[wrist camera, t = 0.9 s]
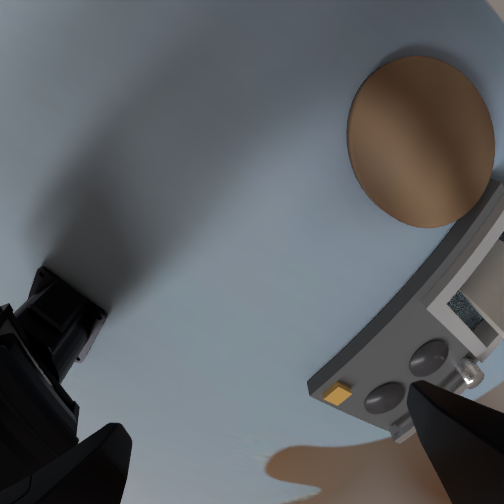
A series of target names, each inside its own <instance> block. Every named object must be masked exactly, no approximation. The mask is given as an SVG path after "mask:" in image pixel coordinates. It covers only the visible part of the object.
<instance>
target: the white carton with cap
mask: <svg viewBox="0 0 504 504" xmlns="http://www.w3.org/2000/svg"><path fill="white" fill-rule="evenodd" d="M459 291H460V292H461V293H462V295H463V296H464V297H465V298H466V299H467V300H468V302H469V303H470V304H471V305H472V306H473V308H474V309H475V310H476V311H477V312H478V313H479V314H480V315H481V316H482V317H483V318H484V319H485V320H486V321H487V322H488V323H489V324H490V325H491V326H492V327H493V328H494V329H495V330H496V332H497V333H498V334H499V335H500V336H501V337H502V338H503V339H504V242H503V241H501V240H499V239H498V240H497V241H496V242H495V244H494V245H493V247H492V248H491V249H490V251H489V252H488V253H487V255H486V256H485V257H484V259H483V260H482V261H481V263H480V264H479V265H478V266H477V268H476V269H475V270H474V272H473V273H472V274H471V275H470V277H469V278H468V279H467V280H466V281H465V283H464V284H463V285H462V286H461V288H460V289H459Z"/></svg>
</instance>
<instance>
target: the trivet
mask: <svg viewBox="0 0 504 504" xmlns="http://www.w3.org/2000/svg"><path fill="white" fill-rule="evenodd" d="M347 147H348V154H349V158H350V162H351V165H352V168H353V171H354V173H355V176H356V178H357V180H358V182H359V184H360V185H361V187H362V189H363V190H364V191H365V193H366V194H367V196H368V197H369V198H370V199H371V200H372V201H373V202H374V203H375V204H376V205H377V206H378V207H379V208H381V209H382V210H383V211H384V212H386V213H387V214H389V215H390V216H392V217H394V218H395V219H397V220H398V221H400V222H403V223H405V224H407V225H411V226H415V227H420V228H436V227H440V226H444V225H447V224H450V223H452V222H454V221H456V220H458V219H460V218H461V217H462V216H464V215H465V214H466V213H468V212H469V211H470V210H471V209H472V208H473V207H474V205H475V204H476V203H477V202H478V200H479V199H480V197H481V196H482V194H483V193H484V191H485V189H486V186H487V184H488V182H489V179H490V176H491V173H492V169H493V164H494V156H495V139H494V131H493V126H492V121H491V118H490V115H489V112H488V109H487V107H486V105H485V103H484V101H483V99H482V97H481V95H480V94H479V92H478V91H477V89H476V88H475V86H474V85H473V84H472V83H471V82H470V81H469V79H468V78H467V77H466V76H464V75H463V74H462V73H461V72H460V71H459V70H457V69H456V68H454V67H453V66H451V65H449V64H447V63H445V62H443V61H441V60H438V59H435V58H431V57H426V56H410V57H404V58H401V59H397V60H395V61H392V62H390V63H387V64H385V65H384V66H382V67H380V68H378V69H377V70H376V71H374V72H373V73H372V74H371V75H370V76H369V77H368V78H367V79H366V80H365V81H364V82H363V84H362V85H361V86H360V88H359V89H358V91H357V93H356V95H355V97H354V99H353V102H352V105H351V108H350V111H349V116H348V121H347Z"/></svg>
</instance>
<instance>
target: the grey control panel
mask: <svg viewBox="0 0 504 504" xmlns="http://www.w3.org/2000/svg"><path fill="white" fill-rule="evenodd" d="M503 231H504V186H503V185H502V183H501V182H498V181H495V180H492V179H489V182H488V184H487V186H486V189H485V191H484V193H483V194H482V196H481V197H480V199H479V200H478V202H477V203H476V204H475V205H474V207H473V208H472V209H471V210H470V211H469V212H468V213H466V214H465V215H464V216H462V217H461V218H460V219H459V220H458V221H457V222H456V224H455V225H454V226H453V228H452V229H451V230H450V232H449V233H448V234H447V235H446V237H445V238H444V239H443V240H442V242H441V243H440V244H439V245H438V247H437V248H436V249H435V250H434V252H433V253H432V254H431V255H430V256H429V258H428V259H427V260H426V261H425V262H424V264H423V265H422V266H421V267H420V268H419V270H418V271H417V272H416V273H415V274H414V275H413V276H412V278H411V279H410V280H409V281H408V282H407V283H406V284H405V286H404V287H403V288H402V289H401V290H400V291H399V292H398V293H397V294H396V296H395V297H394V298H393V299H392V300H391V301H390V302H389V303H388V304H387V305H386V306H385V307H384V308H383V309H382V311H381V312H380V313H379V314H378V315H377V316H376V317H375V318H374V319H373V320H372V321H371V322H370V323H369V324H368V325H367V326H366V327H365V328H364V329H363V330H362V331H361V332H360V333H359V334H358V335H357V336H356V337H355V338H354V339H353V340H352V341H351V342H350V343H349V344H348V345H347V346H346V347H345V348H344V349H343V350H342V351H340V352H339V353H338V354H337V355H336V356H335V357H334V358H333V359H332V360H331V361H330V362H329V363H328V364H327V365H325V366H324V367H323V368H322V369H321V370H320V371H319V372H318V373H317V374H315V375H314V376H313V377H312V378H311V379H310V380H309V381H308V382H307V385H308V390H309V395H310V396H311V397H313V398H315V399H317V400H319V401H321V402H323V403H325V404H328V405H330V406H332V407H334V408H336V409H338V410H341V411H343V412H345V413H347V414H349V415H352V416H354V417H356V418H358V419H361V420H363V421H365V422H368V423H370V424H372V425H375V426H377V427H379V428H382V429H384V430H387V431H389V432H390V430H389V429H390V428H391V427H392V426H394V425H395V424H397V425H399V426H401V427H402V428H403V427H404V426H406V425H407V424H408V423H409V422H411V421H412V418H411V416H410V413H409V411H408V408H407V396H408V391H409V386H410V384H411V383H412V382H415V381H418V380H425V381H427V382H429V383H432V384H434V385H436V386H439V387H441V388H443V389H446V390H448V389H449V388H450V387H451V386H452V385H453V384H454V383H455V382H457V381H458V380H459V379H460V378H461V377H460V376H459V374H458V373H457V372H456V370H455V368H456V365H457V363H458V362H459V361H460V360H461V359H462V358H464V357H466V356H470V357H471V358H472V359H473V361H474V362H475V363H477V362H478V361H480V362H481V363H482V362H483V361H484V360H485V359H486V358H487V357H488V356H489V355H490V354H491V353H492V351H493V350H494V349H495V348H496V347H497V346H498V345H499V344H500V342H501V341H502V340H503V338H502V337H501V336H500V335H499V334H498V333H497V332H496V330H495V329H494V328H493V327H492V326H491V325H490V324H489V323H488V322H487V321H486V320H485V319H483V320H482V321H481V322H480V324H479V325H478V326H477V327H476V328H475V329H474V330H473V331H471V330H470V329H469V328H468V326H467V325H466V324H465V323H464V322H463V321H462V320H461V319H460V318H459V317H458V316H457V315H456V314H455V312H454V311H453V310H452V309H451V308H450V307H449V306H448V305H447V303H448V302H449V300H450V299H451V298H452V297H453V296H454V295H455V293H456V292H457V291H458V290H459V289H460V288H461V286H462V285H463V284H464V283H465V281H466V280H467V279H468V278H469V277H470V275H471V274H472V273H473V272H474V270H475V269H476V268H477V266H478V265H479V264H480V263H481V261H482V260H483V259H484V257H485V256H486V255H487V253H488V252H489V251H490V249H491V248H492V247H493V245H494V244H495V242H496V241H497V240H498V238H499V237H500V235H501V234H502V233H503Z"/></svg>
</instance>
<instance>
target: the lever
mask: <svg viewBox="0 0 504 504" xmlns="http://www.w3.org/2000/svg"><path fill="white" fill-rule="evenodd" d="M455 370H456V372H457V373H458V374H459V376H460V377H461V378H460V379H459V380H458V381H457V382H455V383H454V384H453V385H452V386H451V387H450V388H449V389H448V391H450V392H453V393H455V394H458V395H460V394H461V393H462V392H463V391H464V390H466V389H467V388H468V389H473V388H475V387H476V386H478V385H479V384H480V383H481V382H482V380H483V378H484V374H483V372H482V371H481V370H480V368H479V367H478V366H477V364H476V363H475V362H474V361H473V359H472V358H471V357H470V356H466V357H464V358H462V359H461V360H460V361H459V362H458V363H457V365H456V368H455ZM389 430H390V433H391V435H392V438H393V441H394V442H397V443H399V444H400V443H402V442H403V441H405V440H406V439H407V438H409V437H410V436H411V435H413V434H414V433H415V432H416V429H415V426H414V424H413V421H411V422H409V423H408V424H407V425H406V426H404V427H403V428H402V427H401V426H399V425H397V424H395V425H394V426H392V427H391V428H390V429H389Z"/></svg>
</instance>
